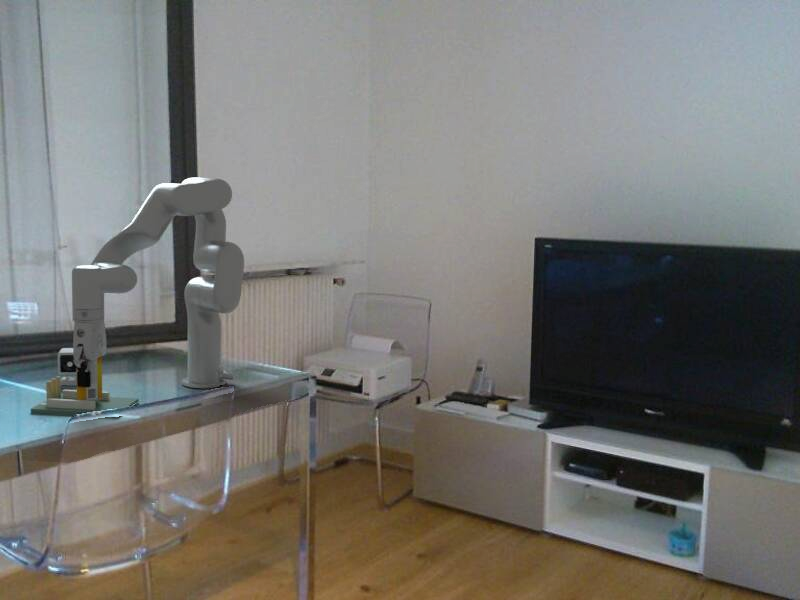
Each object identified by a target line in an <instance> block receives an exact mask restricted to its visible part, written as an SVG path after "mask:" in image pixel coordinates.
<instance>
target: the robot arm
mask: <svg viewBox="0 0 800 600" xmlns="http://www.w3.org/2000/svg"><path fill="white" fill-rule="evenodd" d="M232 198H233V191H232V188H231V186H230V184H229V183H228V182H227V181H226V180H224V179H221V178H215V177H214V178H213V177H212V178H210V177H199V176H198V177H189V178H186V179H184V180H183V181H182V182H181V183H167V182H166V183H160V184H157V185H156V186H155V187H154V188H153V189H152V190H151V192H150V193H149V194H148V196H147V198H146V199H145V200H144V202H143V204H142V205H141V207H140V208H139V210H138V211H137V213H136V214H135V216H134V217H133V219H132V220H131V222H130V223H129V224H128V225H127V226H126V227H125V228H123V229H122V230H120V232H118V233H117V234H115V235H114V236H113V237H112V238H110V239H109V240H108V241H107V242H106V243H105V244H104V245H103V246H102V247H101V248H100V250H99V251H98V252H97V254H96V256H95V257H94V258H93V261H92V262H91V264H90V265H89V264H88V265H86V264H85V265H76V266H75V267H73V268H72V270H71V297H72V298H71V299H72V300H71V303H72V306H71V308H72V312H71V313H72V321H73V322H74V326H73V339H72V340H73V341H72V342H73V343H72V348H73V354H74V364H75V365H76V371H77V386H78V387H90V386H91V377H90V372H89V366H90V361H94V360H96V359H98V358H99V349H98V348H99V346H101V347H102V357H103V356H105V355H106V354H107V349H108V348H107V347H108V346H107V332H106V324H105V294H126V293H129V292H131V291H132V290H133V289H134V288H135V287H136V285H137V283H138V275H137V273H136V271H135V269H133V268H132V267H130V266H128V265H126V264H124V262H125V261H126V260H127V259H128V258H130V257H131V256H133V255H134V254H136V253H138V252H141V251H143V250H145V249H146V250H147V248H150V247H152V246H154V245H156V244H158V243H159V241H160V240H161V238H162V236H163V235H164V233H165V232H166V230H167V229H168V227H169V225H170V224H171V222H172V221H173V219H174V218H175V216H180V217H190V216H194V218H195V237H194V244H193V245H194V246H193V257H192V259H193V265H194V267H195V268H196V269H197V270H199V271H201V272H205V273H209V274H214V277H211V276H210V277H209V276H197V277H194V278H192V279H190V280H189V281H188V282H186V283H187V284H186V286H185V288H184V303H185V307H186V313H187V376H185V377H184V378H182V379H181V384H182V386H184V387H188V388H191V389H192V388H193V389H212V388H219V387H221V386H220V385H222V386H225V384H226V383H227V382H226V381H227V380H228V381H229V380H231V381H235V378H236V373H233V371H226V370H224V367H223V366H222V320H221V317H220V314H226V315H227V314H230V313H233V312H234V311H235V310H236V309H237V308H238V306H239V303H240V302H241V298H242V297H241V296H242V288H243V281H244V280H243V279H244V272H245V271H244V270H245V257H244V254H243V251H242V249H241V248H240V246H238V244H237V243H234V242H231V241H226V240H227V239H226V237H227V236H226V235H227V220H226V216H225V213H224V210H223V209H225V208H226V207H228V206H229V204H230V203H231V201H232ZM82 357H86V358H87V359H82ZM82 362H86V366H85V365H84V363H82ZM77 386H76V387H77Z"/></svg>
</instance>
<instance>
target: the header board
mask: <svg viewBox="0 0 800 600" xmlns="http://www.w3.org/2000/svg"><path fill="white" fill-rule="evenodd" d="M61 380H62V376H61V375H60V376H59V375H57V376H55V378H51V379H50V380H46V381H45V383H46V385H45V386H46V389H45V390H46V393H45V394H46V399H45V400H44V401H42V402H40V403H38V404H37V405H35V406H34V407H32V408H30V414H31V415H38V414H39V415H48V416H49V415H52V416H53V415H54V416H69V417H74V416H73V415H76V414H82V413H87V412H93V411H101V410H107V409H115V408H122V407H127V406H132V405H133V404H135V403H137V402H140V401H139V398H137V397H135V398H133V397H118V396H117V397H116V396H110V391H104V390H102V398H101V399H100V400H99V401H97V402H95V401H90V400H78V399H77V389H63V390H61V389H62V386H61Z"/></svg>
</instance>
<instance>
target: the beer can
mask: <svg viewBox="0 0 800 600" xmlns="http://www.w3.org/2000/svg"><path fill="white" fill-rule="evenodd" d="M98 349H99V358H98V359H96V360H94V361H90V366H89V372H90V377H91V386H90V387H78V386H76V390H77V399H78V400H90V401H95V402H97V401H99V400H100V399H101V398H102V391H103V365H102V364H103V356H102V347H101V346H99V348H98ZM82 359H87V358H86V357H82ZM82 363H84V365H85V366H86V362H82ZM76 376H77V371H76Z"/></svg>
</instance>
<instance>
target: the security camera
mask: <svg viewBox="0 0 800 600" xmlns="http://www.w3.org/2000/svg"><path fill="white" fill-rule="evenodd" d="M57 373H58V374H59V375H60V376H63V375H65V376H63V377H61V385H68V386H67V387H71V386H72V385H73V386H74V385H75V386H76V387H77V376H76V365H75V364H74V354H73V347H63V348H61V349H60V350H59V352H58V353H57ZM69 375H74V376H73V377H72V376H69ZM69 385H71V386H69ZM73 386H72V387H73Z"/></svg>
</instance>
